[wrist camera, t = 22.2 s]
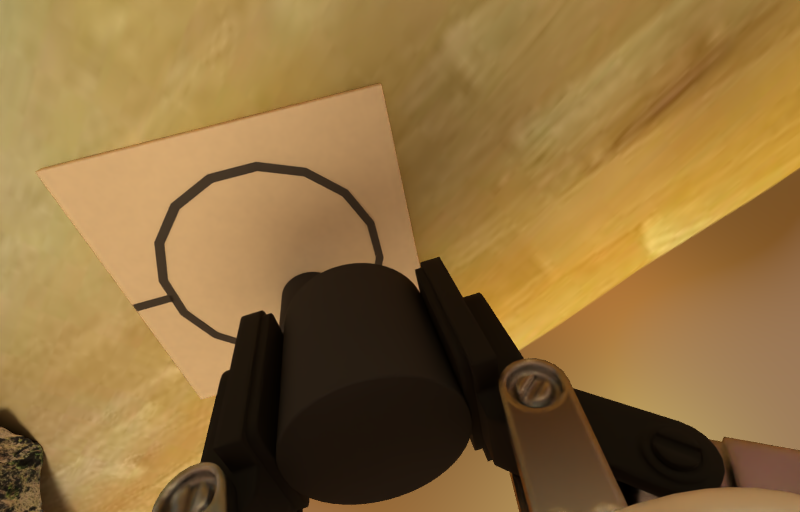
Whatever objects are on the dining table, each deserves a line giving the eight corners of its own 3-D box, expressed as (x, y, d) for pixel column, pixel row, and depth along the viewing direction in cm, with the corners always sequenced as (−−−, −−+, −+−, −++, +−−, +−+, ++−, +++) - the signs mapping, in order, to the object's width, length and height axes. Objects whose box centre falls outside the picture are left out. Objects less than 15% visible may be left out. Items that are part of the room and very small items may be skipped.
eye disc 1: (434, 349, 13) (482, 469, 9) (312, 388, 12) (315, 526, 9) (409, 243, 10) (459, 348, 7) (261, 288, 10) (239, 418, 7)
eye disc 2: (349, 310, 28) (355, 349, 25) (293, 326, 28) (292, 368, 24) (332, 264, 26) (336, 300, 23) (272, 281, 26) (267, 320, 22)
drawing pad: (379, 82, 22) (381, 84, 21) (431, 325, 31) (433, 331, 31) (41, 168, 20) (33, 172, 20) (203, 393, 30) (200, 400, 29)
